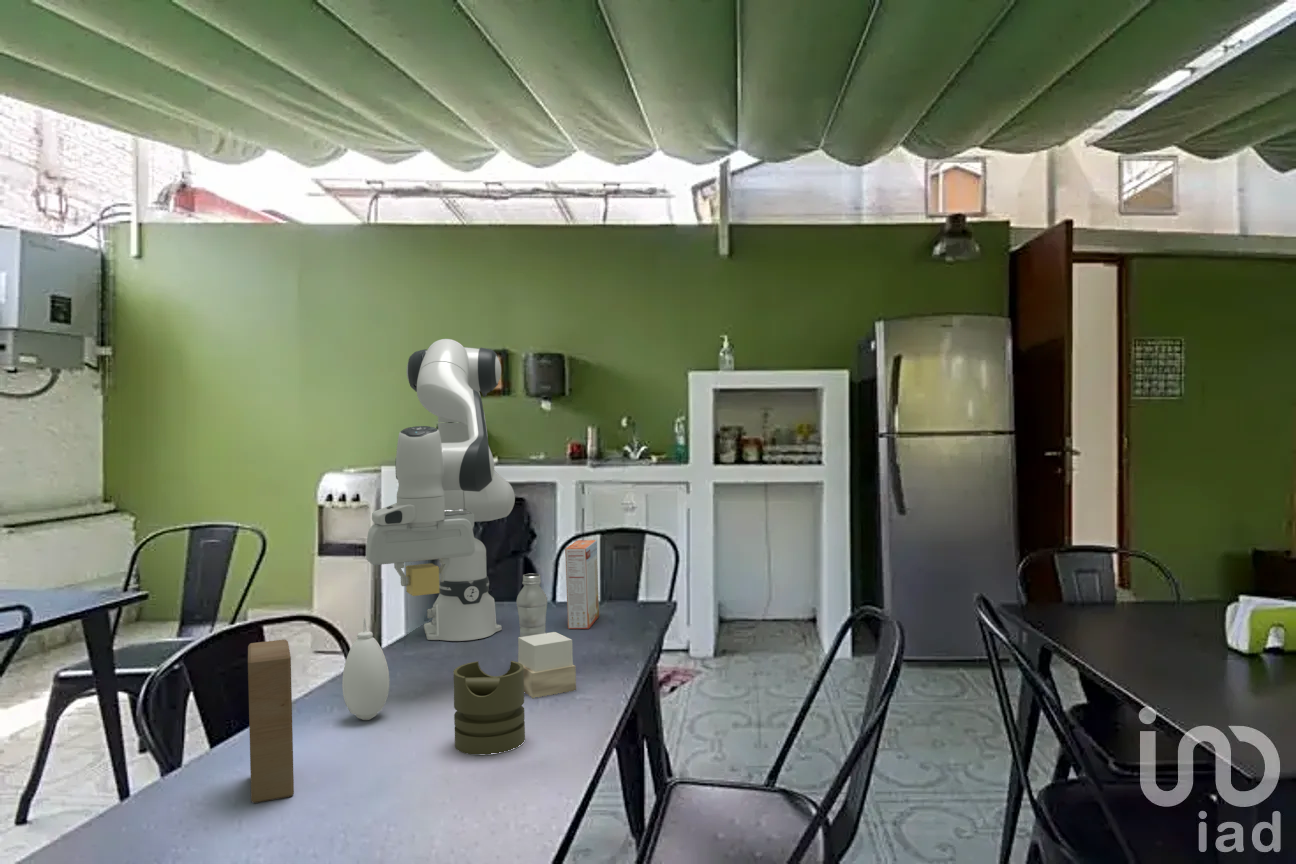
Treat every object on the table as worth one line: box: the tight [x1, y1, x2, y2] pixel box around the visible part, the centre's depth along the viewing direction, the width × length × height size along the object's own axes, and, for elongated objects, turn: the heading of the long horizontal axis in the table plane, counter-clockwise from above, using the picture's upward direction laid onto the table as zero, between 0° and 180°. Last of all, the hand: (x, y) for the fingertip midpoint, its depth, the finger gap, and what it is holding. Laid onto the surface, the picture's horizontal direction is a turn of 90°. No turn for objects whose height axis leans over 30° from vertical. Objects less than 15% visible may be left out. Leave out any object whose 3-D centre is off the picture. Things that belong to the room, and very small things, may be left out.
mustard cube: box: [405, 562, 440, 597], centre depth 166 cm, size 5×5×5 cm
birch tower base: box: [517, 661, 577, 699], centre depth 171 cm, size 9×9×5 cm
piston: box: [452, 660, 526, 755], centre depth 142 cm, size 11×12×11 cm
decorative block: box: [247, 639, 295, 804], centre depth 126 cm, size 11×6×20 cm, turn 23°
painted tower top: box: [517, 631, 574, 672], centre depth 171 cm, size 8×8×5 cm
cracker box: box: [564, 539, 600, 630], centre depth 226 cm, size 14×6×21 cm, turn 172°
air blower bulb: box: [341, 617, 390, 721], centre depth 155 cm, size 8×8×18 cm
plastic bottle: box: [515, 573, 548, 662], centre depth 184 cm, size 6×7×20 cm
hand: (422, 583), depth 166 cm, fingers closed on mustard cube, 5 cm apart
